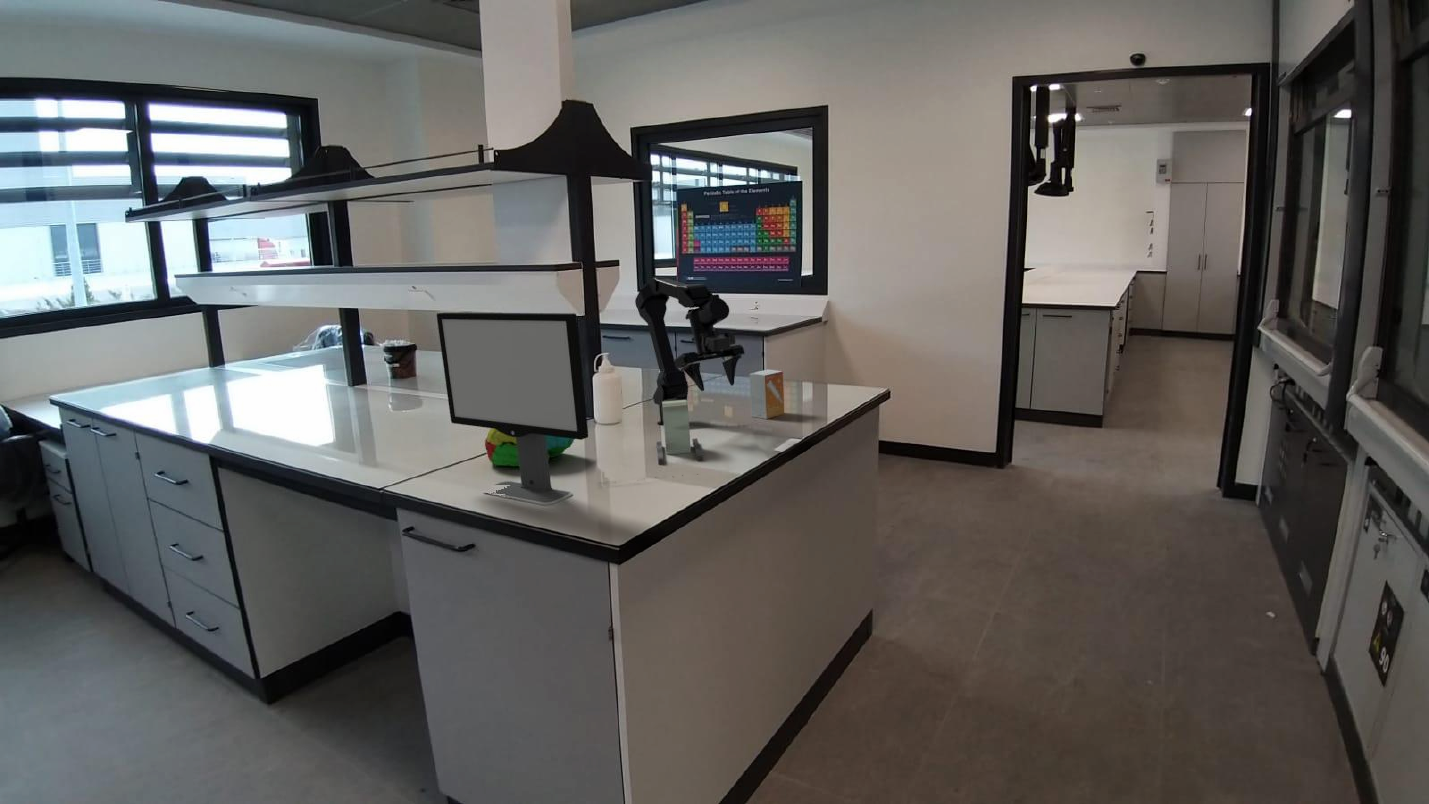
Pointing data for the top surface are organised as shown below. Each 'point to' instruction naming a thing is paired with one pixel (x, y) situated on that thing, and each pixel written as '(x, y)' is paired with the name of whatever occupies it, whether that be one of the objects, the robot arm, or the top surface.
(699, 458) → the walnut chute
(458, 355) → the computer monitor
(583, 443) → the top surface
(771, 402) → the small box
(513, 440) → the brain model
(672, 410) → the sage block
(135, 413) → the top surface
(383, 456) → the top surface
